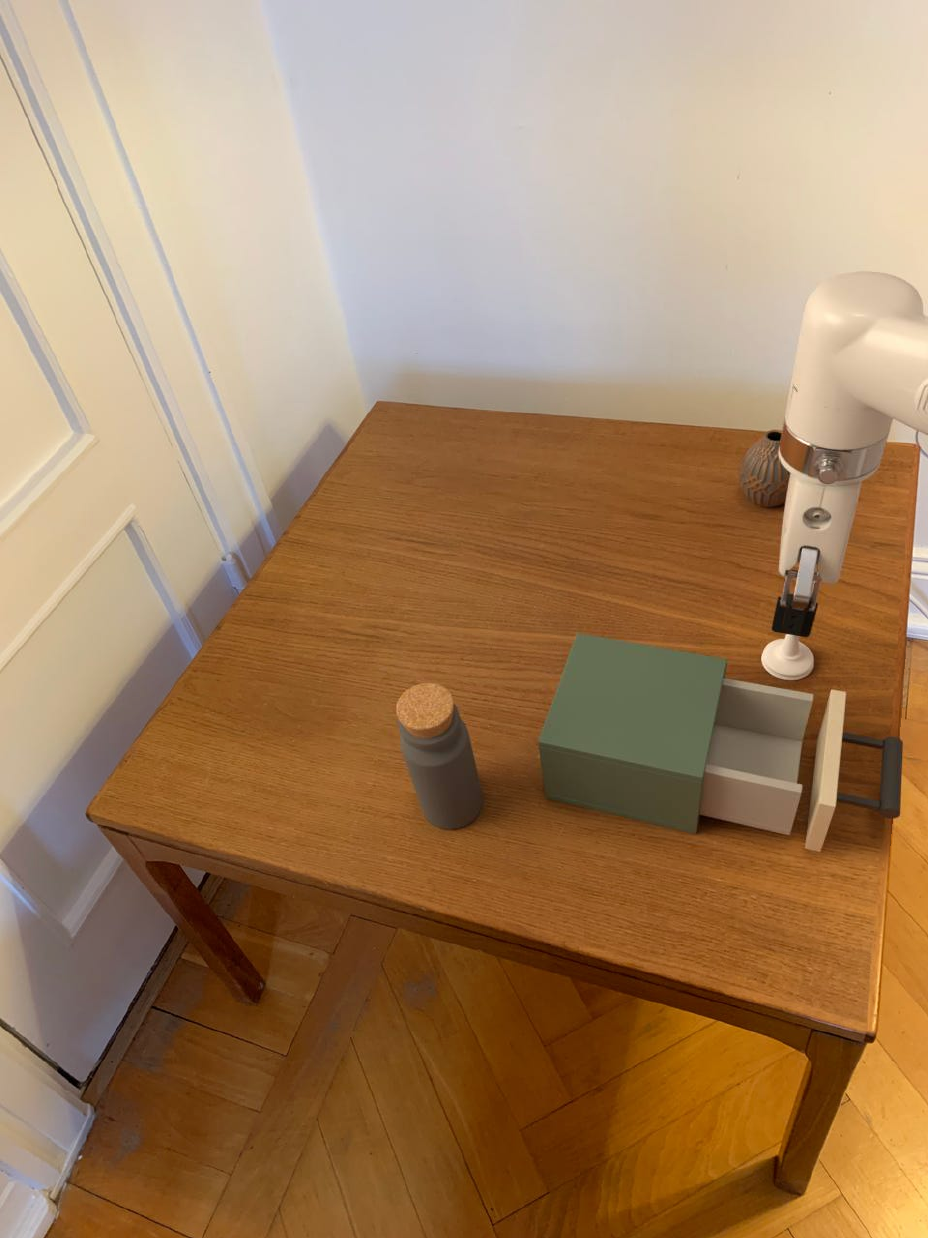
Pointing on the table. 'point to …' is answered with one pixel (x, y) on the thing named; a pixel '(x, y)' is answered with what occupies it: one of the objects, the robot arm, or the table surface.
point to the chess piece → (788, 658)
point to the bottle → (439, 756)
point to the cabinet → (632, 730)
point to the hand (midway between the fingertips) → (796, 593)
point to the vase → (764, 472)
